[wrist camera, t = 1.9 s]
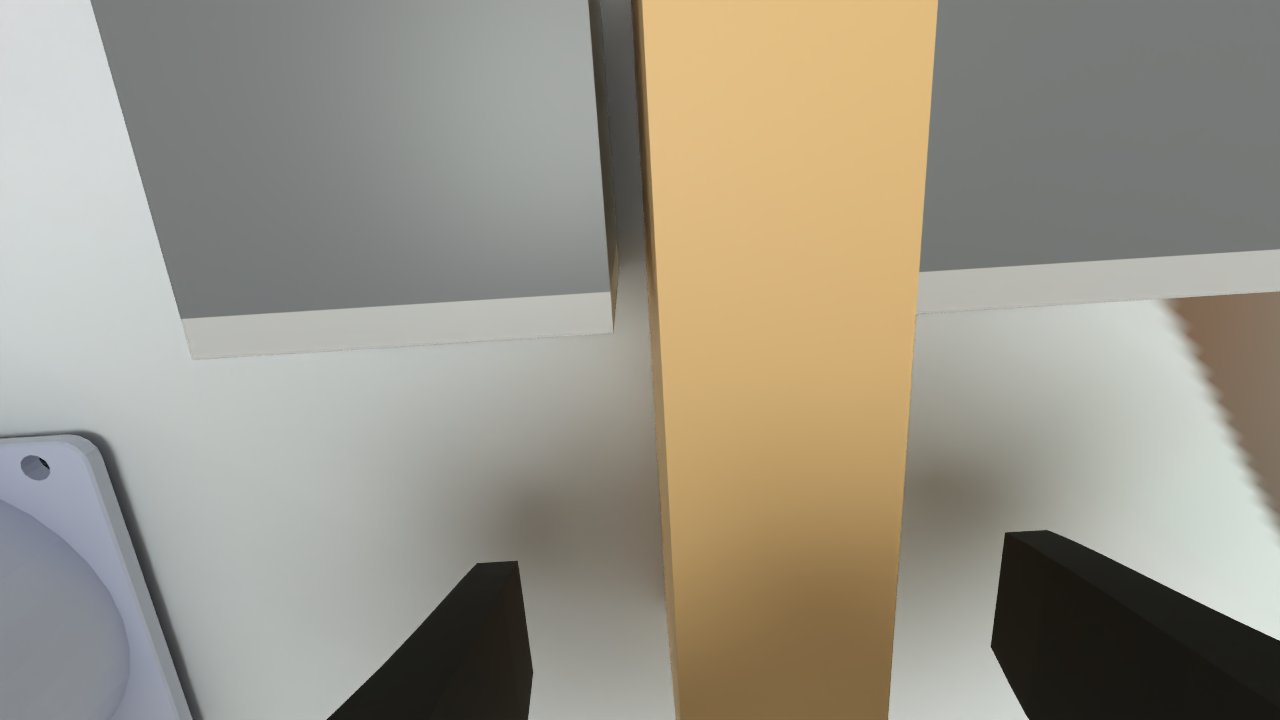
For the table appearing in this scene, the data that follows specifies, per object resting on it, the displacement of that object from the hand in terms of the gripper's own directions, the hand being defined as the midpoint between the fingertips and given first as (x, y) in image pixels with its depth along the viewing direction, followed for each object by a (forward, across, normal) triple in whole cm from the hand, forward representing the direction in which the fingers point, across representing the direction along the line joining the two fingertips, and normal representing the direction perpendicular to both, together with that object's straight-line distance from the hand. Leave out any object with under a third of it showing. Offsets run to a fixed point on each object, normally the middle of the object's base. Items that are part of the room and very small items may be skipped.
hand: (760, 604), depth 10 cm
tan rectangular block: (+4, 0, -3) cm, 5 cm away
